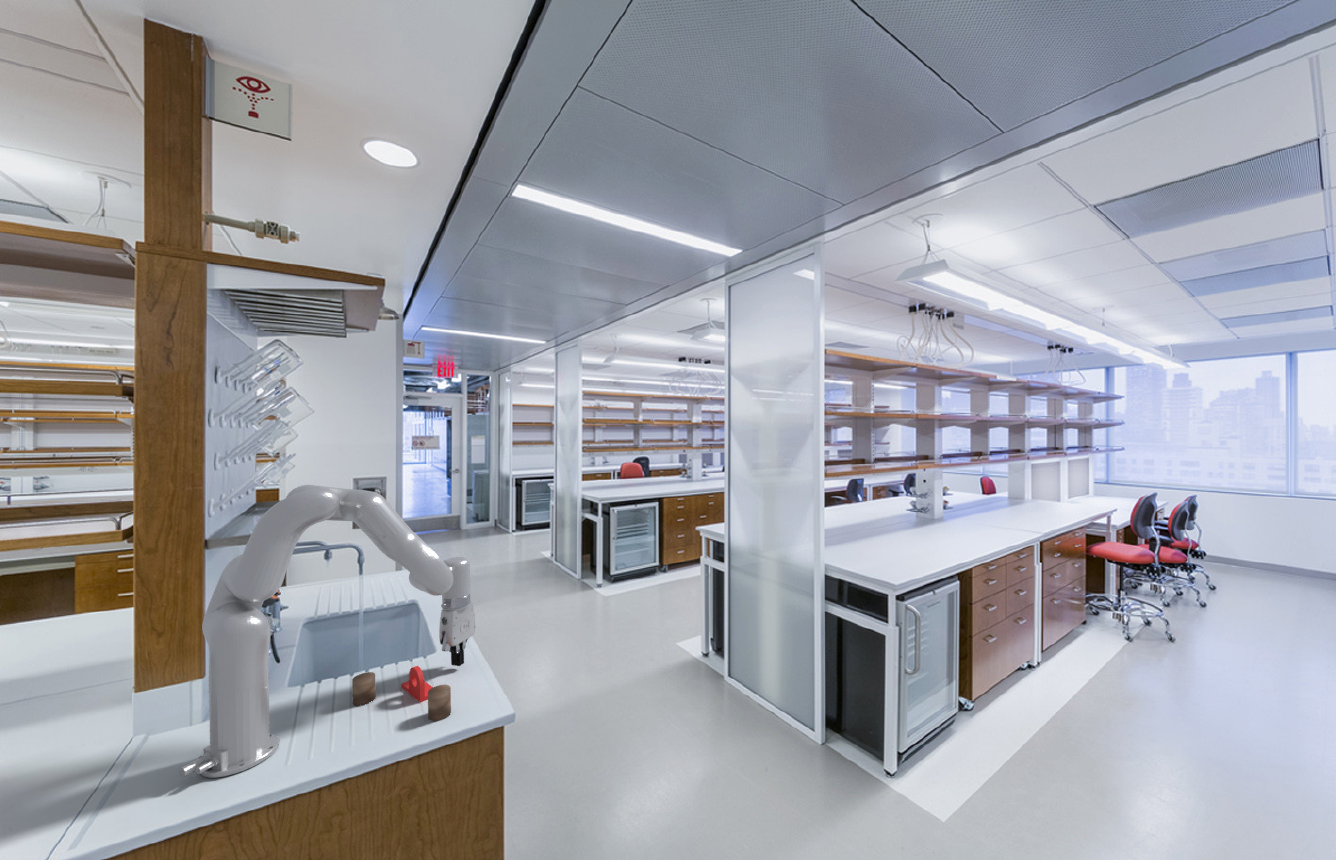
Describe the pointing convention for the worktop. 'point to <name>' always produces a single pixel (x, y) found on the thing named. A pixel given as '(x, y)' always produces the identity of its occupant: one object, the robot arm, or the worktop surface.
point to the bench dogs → (436, 696)
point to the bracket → (417, 685)
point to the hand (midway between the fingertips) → (457, 664)
